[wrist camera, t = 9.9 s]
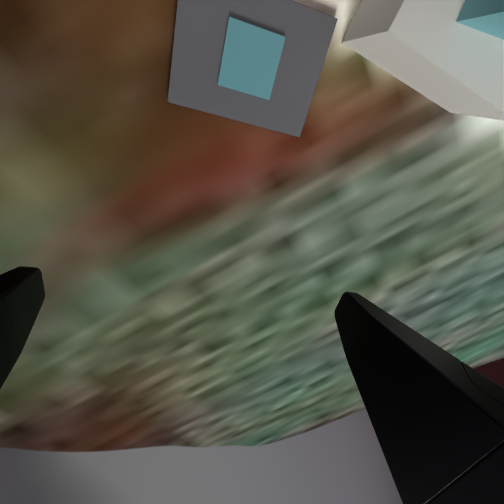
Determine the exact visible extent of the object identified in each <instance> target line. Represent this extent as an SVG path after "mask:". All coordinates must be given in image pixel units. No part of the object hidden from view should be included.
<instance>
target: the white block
mask: <svg viewBox="0 0 504 504" xmlns="http://www.w3.org/2000/svg"><path fill="white" fill-rule="evenodd" d="M464 3H465V0H361V2H360V5H359V7H358V9H357V11H356V13H355V15H354V17H353V19H352V21H351V23H350V26H349V28H348V30H347V32H346V34H345V36H344V38H343V40H342V42H341V43H343V44H344V45H346V46H348V47H349V48H351V49H352V50H354V51H355V52H357V53H358V54H360V55H362V56H363V57H365V58H366V59H368V60H369V61H371V62H372V63H374V64H376V65H377V66H379V67H380V68H382V69H383V70H385V71H387V72H388V73H390V74H391V75H393V76H394V77H396V78H397V79H399V80H401V81H402V82H404V83H405V84H407V85H408V86H410V87H411V88H413V89H415V90H416V91H418V92H419V93H421V94H422V95H424V96H425V97H427V98H429V99H430V100H432V101H433V102H435V103H436V104H438V105H439V106H441V107H443V108H444V109H446V110H447V111H449V112H450V113H457V114H464V115H471V116H478V117H484V118H491V119H498V120H504V40H503V39H500V38H497V37H495V36H492V35H489V34H487V33H484V32H482V31H479V30H476V29H474V28H471V27H468V26H466V25H463V24H460V23H458V22H456V20H457V18H458V16H459V14H460V11H461V9H462V7H463V5H464Z"/></svg>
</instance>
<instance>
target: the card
mask: <svg viewBox="0 0 504 504" xmlns="http://www.w3.org/2000/svg"><path fill="white" fill-rule="evenodd" d="M336 22H337V19H336V18H334V17H331V16H329V15H326V14H324V13H321V12H319V11H316V10H314V9H311V8H309V7H306V6H304V5H301V4H299V3H296V2H294V1H291V0H178V3H177V13H176V23H175V33H174V43H173V53H172V63H171V73H170V83H169V93H168V102H170V103H173V104H177V105H181V106H185V107H188V108H192V109H196V110H199V111H203V112H207V113H211V114H214V115H218V116H222V117H226V118H229V119H233V120H237V121H240V122H244V123H248V124H252V125H255V126H259V127H263V128H267V129H270V130H274V131H278V132H281V133H285V134H289V135H293V136H296V137H300V135H301V131H302V128H303V125H304V122H305V119H306V116H307V113H308V110H309V107H310V103H311V100H312V97H313V94H314V91H315V88H316V85H317V82H318V78H319V75H320V72H321V69H322V66H323V63H324V60H325V57H326V54H327V50H328V47H329V44H330V41H331V38H332V35H333V32H334V29H335V25H336Z"/></svg>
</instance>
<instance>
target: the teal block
mask: <svg viewBox="0 0 504 504" xmlns="http://www.w3.org/2000/svg"><path fill="white" fill-rule="evenodd" d="M456 22H458V23H460V24H463V25H466V26H468V27H471V28H474V29H476V30H479V31H482V32H484V33H487V34H489V35H492V36H495V37H497V38H500V39H503V40H504V0H465V3H464V5H463V7H462V9H461V11H460V14H459V16H458V18H457V20H456Z"/></svg>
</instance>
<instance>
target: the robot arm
mask: <svg viewBox="0 0 504 504" xmlns="http://www.w3.org/2000/svg"><path fill="white" fill-rule="evenodd" d="M44 298H45V290H44V284H43V279H42V273H41V271H40V269H38V268H36V267H24V266H21V267H17V268H15V269H13V270H10V271H8V272H6V273H3V274H1V275H0V389H1V387H2V385H3V384H4V382H5V380H6V378H7V377H8V375H9V373H10V372H11V370H12V368H13V366H14V365H15V363H16V361H17V359H18V357H19V356H20V354H21V352H22V350H23V348H24V345H25V343H26V341H27V339H28V336H29V334H30V332H31V329H32V327H33V325H34V322H35V320H36V318H37V315H38V313H39V311H40V308H41V306H42V304H43V301H44ZM335 319H336V323H337V327H338V330H339V334H340V337H341V341H342V345H343V348H344V352H345V355H346V358H347V361H348V364H349V366H350V369H351V371H352V374H353V376H354V379H355V382H356V384H357V387H358V389H359V392H360V394H361V397H362V400H363V402H364V405H365V407H366V410H367V412H368V415H369V418H370V420H371V423H372V425H373V428H374V430H375V433H376V436H377V438H378V441H379V443H380V446H381V448H382V451H383V454H384V456H385V459H386V461H387V464H388V466H389V469H390V471H391V474H392V477H393V479H394V482H395V484H396V487H397V490H398V492H399V495H400V497H401V500H402V502H403V504H504V388H503V387H501V386H499V385H498V384H496V383H495V382H493V381H491V380H490V379H488V378H487V377H485V376H484V375H482V374H480V373H479V372H477V371H476V370H474V369H473V368H471V367H470V366H468V365H467V364H465V363H464V362H460V360H459V359H457V358H456V357H454V356H453V355H451V354H450V353H448V352H447V351H445V350H443V349H442V348H440V347H439V346H437V345H436V344H434V343H433V342H431V341H430V340H428V339H427V338H425V337H424V336H422V335H420V334H419V333H417V332H416V331H414V330H413V329H411V328H410V327H408V326H407V325H405V324H404V323H402V322H401V321H399V320H398V319H396V318H394V317H393V316H391V315H390V314H388V313H387V312H385V311H384V310H382V309H381V308H379V307H378V306H376V305H375V304H373V303H371V302H370V301H368V300H367V299H365V298H364V297H362V296H361V295H359V294H358V293H354V292H345V293H344V294H343V295H342V297H341V299H340V301H339V303H338V305H337V307H336V309H335Z"/></svg>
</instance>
